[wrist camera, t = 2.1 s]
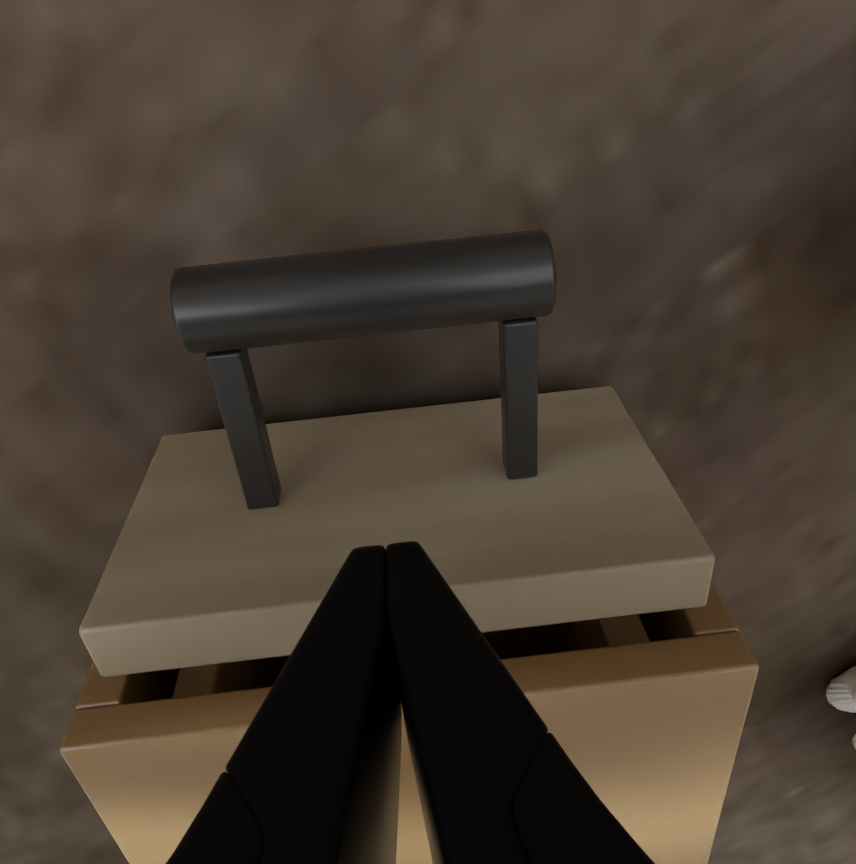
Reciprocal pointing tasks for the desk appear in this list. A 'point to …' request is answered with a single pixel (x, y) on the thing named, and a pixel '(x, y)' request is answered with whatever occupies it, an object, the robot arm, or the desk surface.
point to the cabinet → (536, 676)
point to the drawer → (388, 478)
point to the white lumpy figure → (843, 693)
